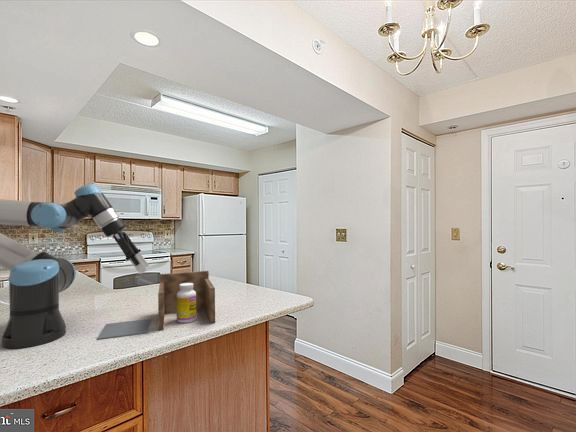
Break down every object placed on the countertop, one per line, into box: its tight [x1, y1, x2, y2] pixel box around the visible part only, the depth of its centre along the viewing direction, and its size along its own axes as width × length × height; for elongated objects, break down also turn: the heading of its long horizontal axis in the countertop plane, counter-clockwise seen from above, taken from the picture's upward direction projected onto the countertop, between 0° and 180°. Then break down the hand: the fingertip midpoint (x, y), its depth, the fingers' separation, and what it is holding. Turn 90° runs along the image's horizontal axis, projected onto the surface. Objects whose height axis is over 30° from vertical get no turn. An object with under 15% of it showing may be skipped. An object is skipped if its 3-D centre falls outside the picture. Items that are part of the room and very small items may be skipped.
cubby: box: [157, 270, 216, 331], centre depth 111 cm, size 18×20×15 cm
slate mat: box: [96, 318, 152, 341], centre depth 101 cm, size 14×14×1 cm
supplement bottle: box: [176, 283, 197, 324], centre depth 109 cm, size 7×7×13 cm
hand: (145, 269), depth 116 cm, fingers open, 13 cm apart
